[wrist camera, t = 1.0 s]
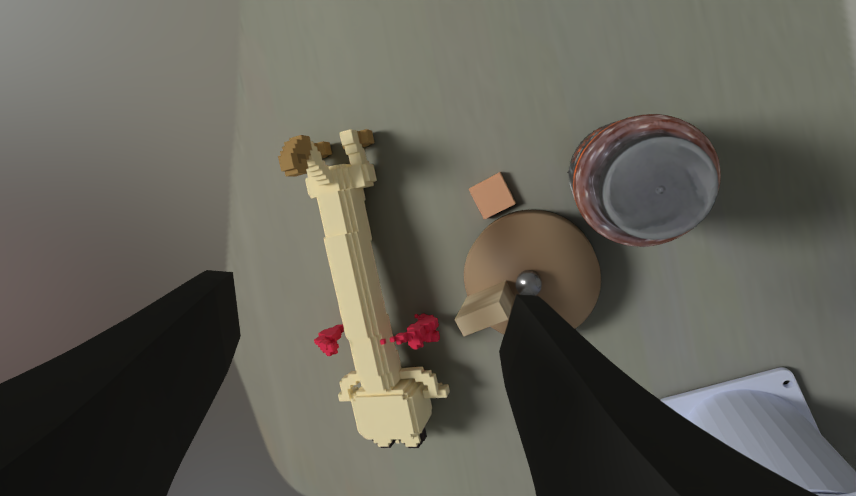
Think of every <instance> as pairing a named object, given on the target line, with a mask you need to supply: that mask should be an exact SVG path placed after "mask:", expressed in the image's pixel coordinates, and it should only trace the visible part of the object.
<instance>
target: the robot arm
mask: <svg viewBox="0 0 856 496" xmlns="http://www.w3.org/2000/svg"><path fill="white" fill-rule="evenodd" d="M240 336H241V335H240V327H239V319H238V311H237V302H236V294H235V286H234V278H233V272H223V271H211V270H206V271H204V272H203V273H201V274H199V275H197V276H196V277H194V278H192V279H191V280H189V281H187V282H186V283H184V284H182V285H181V286H179V287H178V288H176V289H174V290H173V291H171V292H170V293H168V294H166V295H165V296H163V297H162V298H160V299H158V300H157V301H155V302H153V303H152V304H150V305H148V306H147V307H145V308H144V309H142V310H140V311H139V312H137V313H135V314H134V315H132V316H131V317H129V318H127V319H125V320H123V321H122V322H120V323H118V324H117V325H115V326H113V327H111V328H109V329H107V330H106V331H104V332H102V333H100V334H98V335H97V336H95V337H93V338H91V339H90V340H88V341H86V342H84V343H82V344H81V345H79V346H77V347H75V348H73V349H71V350H69V351H67V352H65V353H64V354H62V355H59V356H57V357H56V358H53V359H52V360H50V361H48V362H45V363H43V364H41V365H39V366H37V367H35V368H33V369H31V370H29V371H26V372H25V373H22V374H20V375H18V376H16V377H14V378H12V379H9V380H7V381H5V382H3V383H1V384H0V496H166V495H167V493H168V490H169V488H170V485H171V483H172V481H173V479H174V476H175V474H176V472H177V470H178V468H179V466H180V464H181V462H182V459H183V458H184V456H185V453H186V452H187V450H188V448H189V446H190V444H191V442H192V440H193V438H194V436H195V434H196V433H197V431H198V429H199V427H200V425H201V423H202V421H203V419H204V417H205V415H206V413H207V412H208V410H209V408H210V406H211V404H212V402H213V400H214V398H215V396H216V394H217V392H218V390H219V388H220V386H221V384H222V382H223V380H224V378H225V376H226V374H227V372H228V370H229V367H230V364H231V362H232V359H233V356H234V353H235V351H236V348H237V345H238V342H239V339H240ZM499 353H500V360H501V366H502V372H503V378H504V384H505V388H506V392H507V395H508V398H509V402H510V405H511V408H512V412H513V415H514V418H515V422H516V425H517V428H518V431H519V435H520V438H521V441H522V445H523V448H524V451H525V454H526V458H527V461H528V464H529V467H530V471H531V475H532V479H533V482H534V486H535V491H536V496H856V471H855V470H854V469H853V468H852V467H851V466H850V465H849V464H848V463H847V462H846V461H845V459H844V458H843V457H842V456H841V455H840V454H839V453H838V452H837V451H836V450H835V449H834V448H833V447H832V446H831V445H830V443H829V442H828V441H827V440H826V439H825V438H824V437H823V436H822V435H821V433H820V431H819V429H818V427H817V425H816V422H815V420H814V418H813V416H812V414H811V411H810V409H809V407H808V405H807V403H806V400H805V398H804V396H803V394H802V392H801V390H800V387H799V385H798V383H797V381H796V379H795V376H794V374H793V373H792V372H791V371H790V370H789V369H787V368H783V367H781V368H776V369H772V370H768V371H764V372H761V373H757V374H753V375H749V376H745V377H742V378H738V379H734V380H730V381H726V382H723V383H719V384H715V385H711V386H708V387H704V388H700V389H696V390H692V391H689V392H685V393H681V394H677V395H673V396H670V397H666V398H663V399H661V400H659V399H658V398H656V397H655V396H654V395H652V394H651V393H650V392H648V391H647V390H646V389H644V388H643V387H642V386H640V385H639V384H638V383H636V382H635V381H634V380H633V379H631V378H630V377H629V376H628V375H627V374H625V373H624V372H623V371H622V370H621V369H619V368H618V367H617V366H616V365H614V364H613V363H612V362H611V361H610V360H609V359H607V358H606V357H605V356H604V355H603V354H602V353H601V352H599V351H598V350H597V349H596V348H595V347H594V346H593V345H592V344H590V343H589V342H588V341H587V340H586V339H585V338H584V337H583V336H582V335H581V334H580V333H578V332H577V331H576V330H575V329H574V328H573V327H572V326H571V325H570V324H569V323H568V322H567V321H566V320H565V319H564V318H562V317H561V316H560V315H559V314H558V313H557V312H556V311H555V310H554V309H553V308H552V307H551V306H550V305H548V304H547V303H546V302H545V301H544V300H543V299H542V298H540V297H539V296H533V295H520V294H516V297H515V300H514V304H513V307H512V310H511V314H510V317H509V320H508V324H507V327H506V330H505V334H504V337H503V340H502V344H501V347H500V351H499ZM786 380H789V381H790V382H789V383H788V384H783V382H784V381H786Z"/></svg>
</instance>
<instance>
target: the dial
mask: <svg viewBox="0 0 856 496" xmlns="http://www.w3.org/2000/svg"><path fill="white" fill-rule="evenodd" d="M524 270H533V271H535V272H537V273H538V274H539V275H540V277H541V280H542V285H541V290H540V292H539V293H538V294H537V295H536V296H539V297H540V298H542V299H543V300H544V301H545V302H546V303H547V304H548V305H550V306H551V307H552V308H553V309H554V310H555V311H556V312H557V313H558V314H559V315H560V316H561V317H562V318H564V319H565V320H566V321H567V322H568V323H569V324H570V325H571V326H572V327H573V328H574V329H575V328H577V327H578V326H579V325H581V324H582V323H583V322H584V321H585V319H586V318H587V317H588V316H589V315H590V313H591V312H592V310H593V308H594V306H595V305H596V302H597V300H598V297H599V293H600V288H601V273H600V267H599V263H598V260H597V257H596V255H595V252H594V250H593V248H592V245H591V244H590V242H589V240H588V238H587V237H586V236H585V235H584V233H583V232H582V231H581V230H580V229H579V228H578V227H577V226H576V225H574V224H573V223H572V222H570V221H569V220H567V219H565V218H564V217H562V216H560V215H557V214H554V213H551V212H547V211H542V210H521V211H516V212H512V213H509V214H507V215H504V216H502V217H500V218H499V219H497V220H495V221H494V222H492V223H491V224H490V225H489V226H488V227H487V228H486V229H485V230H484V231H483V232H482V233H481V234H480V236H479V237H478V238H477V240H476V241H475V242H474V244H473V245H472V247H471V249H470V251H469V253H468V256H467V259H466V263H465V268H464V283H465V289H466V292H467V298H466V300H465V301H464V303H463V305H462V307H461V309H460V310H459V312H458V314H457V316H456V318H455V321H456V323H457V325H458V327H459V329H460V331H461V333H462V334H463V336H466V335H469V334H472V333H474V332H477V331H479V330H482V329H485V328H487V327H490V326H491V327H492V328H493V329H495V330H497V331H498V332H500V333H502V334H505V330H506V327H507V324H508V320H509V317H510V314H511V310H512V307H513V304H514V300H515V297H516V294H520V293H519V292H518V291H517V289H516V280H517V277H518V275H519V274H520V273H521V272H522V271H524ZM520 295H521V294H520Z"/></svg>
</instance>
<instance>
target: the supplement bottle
mask: <svg viewBox="0 0 856 496" xmlns="http://www.w3.org/2000/svg"><path fill="white" fill-rule="evenodd" d="M567 173H569V182H570V187H571V190H572V193H573V196H574V199H575V201H576V204H577V207H578V209H579V211H580V213H581V215H582V216H583V217H584V219H585V220H586V222H587V223H588V224H589V225H590V226H591V227H592V228H593V229H594V230H595V231H597V232H598V233H599V234H601V235H603V236H604V237H606V238H608V239H610V240H612V241H614V242H617V243H620V244H624V245H628V246H640V247H646V246H654V245H659V244H663V243H666V242H669V241H672V240H674V239H677V238H679V237H681V236H683V235H684V234H686V233H687V232H689V231H690V230H692V229H693V228H694V227H696V226H697V225H698V224H699V223H700V222H701V221H702V220H703V219H704V218H705V217H706V216H707V215H708V213H709V212H710V210H711V209H712V207H713V205H714V202H715V200H716V197H717V194H718V191H719V186H720V179H721V172H720V164H719V159H718V156H717V153H716V151H715V149H714V147H713V145H712V143H711V142H710V141H709V139H708V138H707V137H706V136H705V135H704V134H703V133H702V132H701V131H700V130H699V129H697V128H696V127H695V126H693V125H691V124H690V123H687V122H685V121H683V120H681V119H679V118H675V117H671V116H667V115H660V114H648V115H639V116H634V117H629V118H626V119H623V120H620V121H617V122H613V123H610V124H608V125H605V126H603V127H600V128H598V129H597V130H595V131H593V132H592V133H590V134H589V135H588V136H587V137H586V138H584V140H583V141H582V142H581V143H580V144H579V146H578V147H577V149H576V151H575V153H574V154H573V156H572V159H571V162H570V167H569V171H568V172H567Z"/></svg>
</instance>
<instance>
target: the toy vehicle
mask: <svg viewBox="0 0 856 496" xmlns="http://www.w3.org/2000/svg"><path fill="white" fill-rule="evenodd" d="M340 138H341V142H342V146H343V149H345V151H346V155H348V156H349V160H350V164H340V165H333V166H329V167H328V165H326V164H325V161H322V158H325V157H328V155H332V152H331V147H330V143H329V142H319V143H313V142H312V141H310V137H309V136H304V135H299V136H296V137H293V138H289V140H290V141H287V142H284V144H285V146H284V147H282V149H283V151H280V153H281V156H278V158H279V163H280V167H281V171H285V175H286V176H299V175H303V174H308V178H306V179H305V181H306V185H307V189H308V194H309V195H310V197H311V198H317V201H318V205H319V209H320V214H321V218H322V223H323V227H324V232H325V236H326V237H325V238H324V242H325V246H326V251H327V255H328V260H329V264H330V269H331V273H332V277H333V282H334V286H335V291H336V295H337V299H338V304H339V308H340V313H341V317H342V322H343V324H342V325H336V326H334V327H333V328H329V329H325V330H323V331H321V332H320V333H318V334H319V337H318V338H316V339H314V342H315V343H316V345H318V347H320V349H321V350H322V351H323V353H326V355H327V356H331V355H332V354H337V353H338V351H337V349H338V348H339V345H338V344H337V340H338V339H340V338H341V335H342V334H341V333H342V332H344V330H345V335H346V338H348V339H349V342H350V347H351V351H352V356H353V360H354V364H355V369H356V371H351V372H350V373H349V374H347V375H345V376H344V377H343V378H342V380H341V381H340V382H339V383H340V387H341V392H340V393H339V394H338V396H339V401H351V403H352V407H353V411H354V416H355V420H356V424H357V429H358V432H359V433H360V434H362V436H364V438H367V439H372V441H374V443H376V444H378V447H381V448H391V447H392V445H393V444H394V443H395V441H396V443H400V441H401V442H402V443H404V444H405V445H406V447H408V448H419V446H420V445H421V444H422V443H423V441H425V439H426V437H427V435H426V430H425V425H426V423H427V422H428V420H429V418H430V416H431V414H432V412H431V409H432V405H431V400H430V398H447V396H448V394H449V392H450V390H449V385H448V384H443V385H442V383H438V382H437V377H436V373H435V374H432V371H431V370H424V368H423V367H410V368H401V363H400V358H399V354H398V350H396V348H395V343H394V342H395V341H396V343H397V344H402V343H403V342H407V341H408V345H409V346H411V348H413V349H418V348H419V347H423V346H424V344H423V342H425V341H426V342H438V341H439V339H440V335H439V331H436V328H437V327H438V326H439V324H438V319H437V318H435V317H434V316H433V315H427V314H426V315H425V314H421V315H420V316H418V314H415V315H414V316H415V318H418V321H417V322H416V323H415V324H411V325H410V326H409V327H408V328H407V332H405V333H398V334H397V335H396V336H393V334H392V329H391V325H390V320H389V315H388V314H386V310H385V305H384V300H383V296H382V291H381V286H380V282H379V277H378V272H377V268H376V263H375V258H374V254H373V249H372V244H371V240H372V236H371V231H370V226H369V222H368V217H367V212H366V208H365V203H364V200H366V199H365V194H364V190H363V188H366V187H370V186H374V183H373V182H375V181H377V179H376V175H375V170H374V165H373V164H369V161H367V159H366V154H365V149H364V148H363V147H366V146H370V144H373V143H374V139H373V134H372V131H371V130H367V129H365V130H362V131H356V130H352V129H350V130H347V131H343V132H340ZM306 169H307V172H306ZM360 381H361V385H362V386H361V387H360V388H358V387H353V386H354V385H357V384H358V383H359V382H360Z"/></svg>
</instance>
